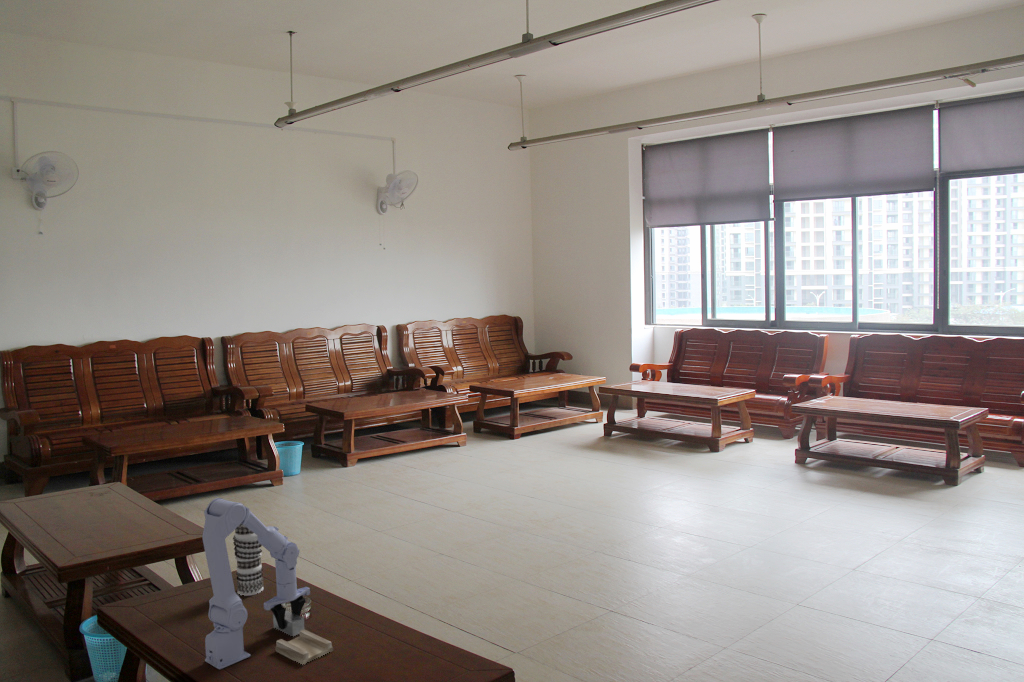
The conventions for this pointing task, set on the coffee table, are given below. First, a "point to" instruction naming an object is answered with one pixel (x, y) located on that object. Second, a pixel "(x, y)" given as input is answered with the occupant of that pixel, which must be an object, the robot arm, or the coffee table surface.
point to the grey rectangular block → (291, 624)
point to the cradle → (304, 647)
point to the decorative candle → (248, 561)
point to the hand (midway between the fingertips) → (288, 625)
